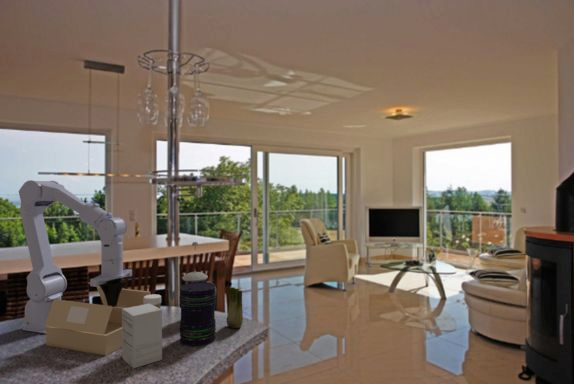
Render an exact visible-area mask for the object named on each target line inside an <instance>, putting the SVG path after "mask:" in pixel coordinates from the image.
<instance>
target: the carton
mask: <svg viewBox="0 0 574 384" xmlns="http://www.w3.org/2000/svg"><path fill="white" fill-rule="evenodd" d="M122 309H123V308H122V307H112V310H111V313H110V317H109V320H108V323H107V327H106V330H105V334H104V335H102V334H95V333H89V332H82V331H75V330H69V329H62V328H56V327H49V326H46V334H45V345H46V346H49V347H53V348H54V347H55V348H60V349H66V350H72V351H77V352H82V353H89V354H95V355H100V356H101V355H102V356H108V355H110V354H112V353H114V352H116V351H118V350H119V349H122Z"/></svg>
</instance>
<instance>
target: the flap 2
mask: <svg viewBox="0 0 574 384" xmlns="http://www.w3.org/2000/svg"><path fill="white" fill-rule="evenodd" d="M96 289H97V292H98V294H99V297H100V299H101V302H102V305H106V306H108V304H107V300H106V297H105V295H104V292H103V290H102V289H101V287H100V286H99V285H98V286H97V287H96ZM146 295H152V294H151V291H148V290H141V289H139V290H138V289H131V288H129V289H128V288H122V290H121V292H120V295H119V298H118V302H117V306H115V308H123V309H124V308H129V307H134V306H139V305H144V304H143V298H144V296H146Z"/></svg>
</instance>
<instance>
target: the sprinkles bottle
mask: <svg viewBox="0 0 574 384" xmlns="http://www.w3.org/2000/svg"><path fill="white" fill-rule="evenodd" d="M143 304H152V305H154V306H156V307H158V308H160V309H161V307H162V306H161V304H162V295H160V294H154V293H152V294H151V295H146V296H144V298H143Z"/></svg>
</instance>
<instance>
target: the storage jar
mask: <svg viewBox="0 0 574 384" xmlns="http://www.w3.org/2000/svg"><path fill="white" fill-rule="evenodd" d="M212 283H213V282H212ZM212 283H211V282H210V283H207V281H206V282H204V281H203V282H202V281H195V282H188V283H184V284H182V285H180V287H179V291H180V292H179V309H180V319H181V321H180V322H179V337H180V338H179V343H180V344H181V345H183V346H186V347H191V348H192V347H195V348H196V347H197V348H198V347H205V346H209V345H211V344H212V343H214V342H215V340H216V330H217V329H216V328H217V326H216V323H217V322H216V317H215V307H216V303H217V301H216V299H217V298H216V296H217V293H216V294H215V287H216V284H214V283H213V284H212Z"/></svg>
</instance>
